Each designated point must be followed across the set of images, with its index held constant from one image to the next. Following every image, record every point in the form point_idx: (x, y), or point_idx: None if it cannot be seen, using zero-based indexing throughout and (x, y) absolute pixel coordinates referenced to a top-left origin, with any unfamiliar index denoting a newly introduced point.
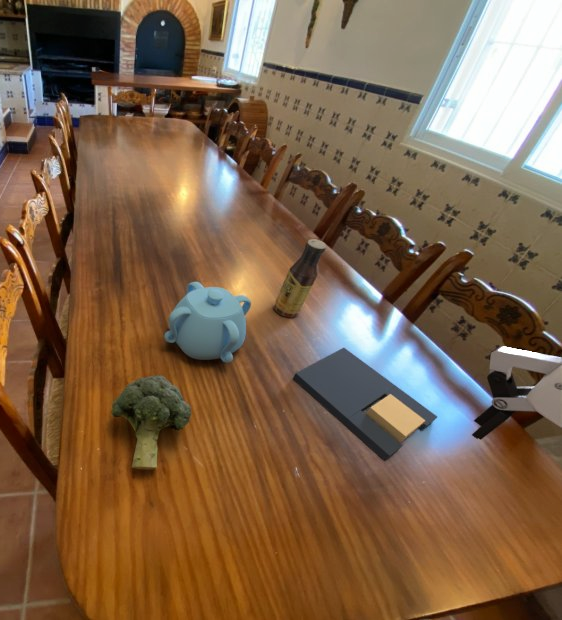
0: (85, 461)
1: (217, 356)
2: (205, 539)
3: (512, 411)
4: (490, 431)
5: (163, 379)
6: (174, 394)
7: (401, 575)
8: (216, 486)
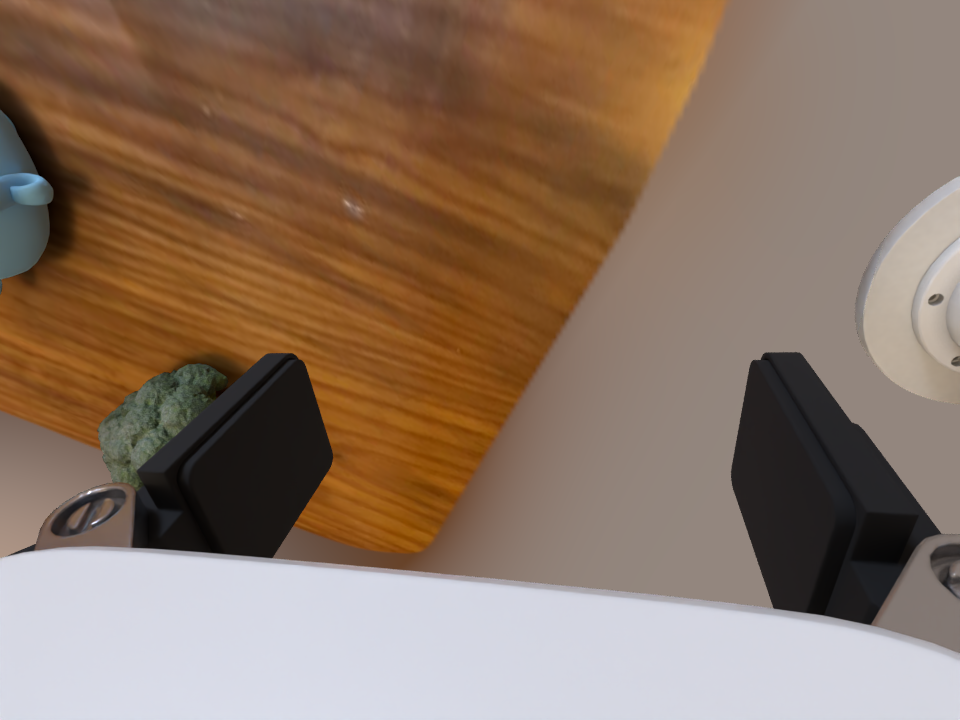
0: None
1: (33, 205)
2: (404, 424)
3: (214, 542)
4: (302, 510)
5: (108, 439)
6: (144, 455)
7: (589, 171)
8: (338, 365)
